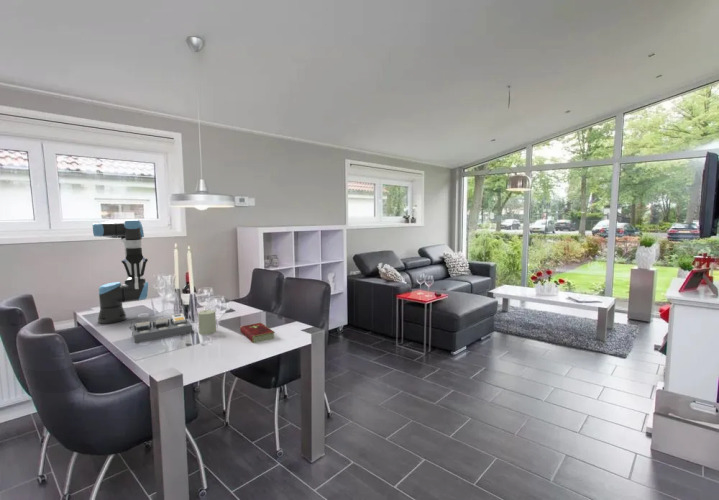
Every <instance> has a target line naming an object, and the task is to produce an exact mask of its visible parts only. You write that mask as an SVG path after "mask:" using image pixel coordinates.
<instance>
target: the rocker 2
mask: <svg viewBox="0 0 719 500" xmlns="http://www.w3.org/2000/svg"><path fill="white" fill-rule="evenodd" d="M184 316H185V315H184V313H176V314H171V317H170V319H171V318H172V321H173V322H174V324H175V323H181V322H186V319H187V318H186V319H185V317H184Z"/></svg>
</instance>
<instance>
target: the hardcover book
mask: <svg viewBox="0 0 719 500" xmlns="http://www.w3.org/2000/svg"><path fill="white" fill-rule="evenodd" d="M239 328H240V329H239V331H240V333H241V334H242V335H243V336H244V337H245V338H246V339H248V340H249V341H250V342H251V343H253V344H254V343H259V342H263V341H268V340H271V339H275V334H276V332H275V331H274V330H272V329H271V328H270V327H268V326H267V325H265V324H264V323H262V322H256V323H251V324H246V325H240V327H239ZM274 333H275V334H274Z"/></svg>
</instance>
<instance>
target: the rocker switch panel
mask: <svg viewBox="0 0 719 500" xmlns="http://www.w3.org/2000/svg"><path fill="white" fill-rule="evenodd" d="M184 317H185V319H186V322H181V323H175V324H174V322H173V320H172V318H171V317H170V318H167V319H168V321H167V322H162V323H156V324H155V323H154V321H155V320H153V321H152V322H151V321H149V322H150V325H144V326H138V327H136V323H134V324H133V327H131V328H130V330H131V336H132V339H133V341H134V343H135V344H136V343H141V342H147V341H151V340H156V339H157V340H158V339H163V338H168V337H174V336H179V335H185V334H189V333H193V324H192V323H191V322H190V321H189V320H188V319H187V316H186V315H184Z"/></svg>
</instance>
